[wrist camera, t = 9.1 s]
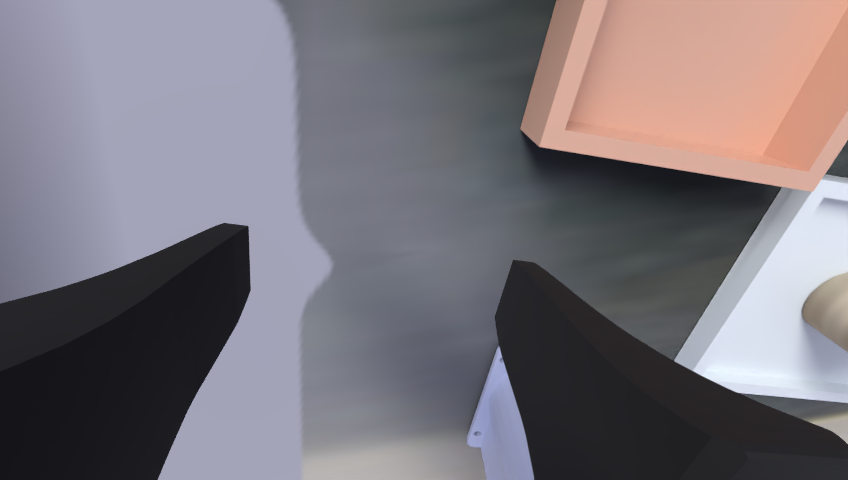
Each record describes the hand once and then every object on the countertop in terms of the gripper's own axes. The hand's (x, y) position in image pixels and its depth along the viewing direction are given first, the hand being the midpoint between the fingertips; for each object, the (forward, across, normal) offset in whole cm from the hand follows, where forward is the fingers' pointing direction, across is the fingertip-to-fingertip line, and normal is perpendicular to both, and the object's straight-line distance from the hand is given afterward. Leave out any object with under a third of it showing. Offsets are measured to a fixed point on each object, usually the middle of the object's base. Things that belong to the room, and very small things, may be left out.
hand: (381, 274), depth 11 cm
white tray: (+9, -27, +4) cm, 29 cm away
